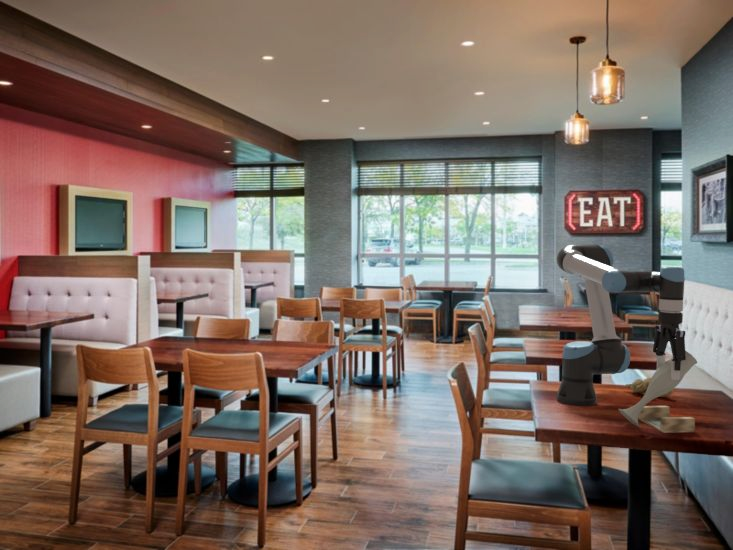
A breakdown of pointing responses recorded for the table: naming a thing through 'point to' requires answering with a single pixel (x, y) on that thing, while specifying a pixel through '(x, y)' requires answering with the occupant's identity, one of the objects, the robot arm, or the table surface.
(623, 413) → the vase
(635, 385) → the ginger root
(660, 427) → the u rest
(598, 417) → the table surface
